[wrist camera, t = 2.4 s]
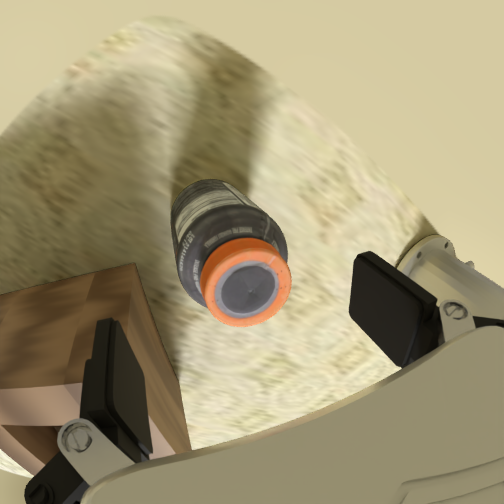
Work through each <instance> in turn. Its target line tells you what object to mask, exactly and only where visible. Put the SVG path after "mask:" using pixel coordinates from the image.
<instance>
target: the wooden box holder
mask: <svg viewBox="0 0 504 504" xmlns="http://www.w3.org/2000/svg"><path fill="white" fill-rule="evenodd" d="M111 317H112V318H113V319H114V321H116V320H118V321H119V322H120V324H121V326H122V329H123V331H124V333H125V335H126V337H127V340H128V342H129V344H130V346H131V348H132V350H133V352H134V354H135V356H136V358H137V360H138V362H139V364H140V366H141V368H142V370H143V373H144V377H145V387H146V398H147V407H148V416H149V424H150V432H151V439H152V446H153V454H149V458H150V460H152V459H156V458H161V457H165V456H169V455H174V454H179V453H183V452H188V451H192V449H191V444H190V439H189V434H188V430H187V424H186V419H185V414H184V408H183V403H182V397H181V391H180V385H179V382H178V380H177V378H176V375H175V373H174V371H173V368H172V366H171V364H170V361H169V359H168V356H167V354H166V351H165V349H164V346H163V344H162V341H161V338H160V336H159V333H158V330H157V328H156V325H155V322H154V319H153V317H152V314H151V311H150V308H149V305H148V302H147V299H146V296H145V293H144V290H143V287H142V284H141V281H140V278H139V275H138V271H137V268H136V265H135V263H133V264H128V265H124V266H120V267H115V268H111V269H107V270H102V271H98V272H94V273H89V274H85V275H81V276H77V277H72V278H68V279H64V280H60V281H56V282H51V283H47V284H43V285H39V286H35V287H31V288H27V289H23V290H19V291H14V292H10V293H6V294H2V295H0V449H1V450H2V451H3V452H5V453H6V454H7V455H8V456H9V457H11V458H12V459H13V460H14V461H15V462H17V463H18V464H19V465H20V466H22V467H23V468H24V469H26V470H27V471H28V472H30V473H31V474H32V475H34V476H35V475H36V474H37V473H38V472H39V471H40V470H41V469H42V468H43V467H44V466H45V465H46V464H47V463H48V462H49V461H50V460H51V459H52V458H53V457H54V456H55V455H56V454H57V453H58V452H59V451H60V449H59V447H58V442H57V438H58V432H57V431H56V430H55V429H54V428H53V427H52V426H58V425H64V424H65V423H67V422H69V421H70V420H73V419H79V416H80V403H81V393H82V383H83V375H84V367H85V362H86V360H87V359H91V356H92V349H93V342H94V336H95V329H96V324H97V321H98V320H101V319H106V318H111Z"/></svg>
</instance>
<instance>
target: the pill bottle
mask: <svg viewBox="0 0 504 504" xmlns="http://www.w3.org/2000/svg"><path fill="white" fill-rule="evenodd" d="M171 232H172V239H173V246H174V253H175V259H176V264H177V270H178V275H179V278H180V281H181V284H182V286H183V287H184V289H185V290H186V292H187V293H188V294H189V296H190V297H191V298H192V299H194V300H195V301H196V302H197V303H199V304H201V305H202V306H204V307H206V308H208V309H209V311H210V312H211V313H212V314H213V316H214V317H215V318H217V319H218V320H219V321H221V322H223V323H225V324H227V325H231V326H237V327H247V326H252V325H256V324H259V323H261V322H264V321H265V320H267V319H269V318H271V317H272V316H273V315H275V314H276V313H277V312H278V311H279V310H280V309H281V307H282V306H283V305H284V303H285V302H286V300H287V298H288V296H289V293H290V290H291V282H292V280H291V273H290V270H289V267H288V265H287V259H288V250H287V244H286V240H285V237H284V235H283V233H282V231H281V229H280V228H279V226H278V225H277V223H276V222H275V221H274V220H273V219H272V218H271V217H269V215H268V214H267V213H265V212H264V211H263V210H262V209H260V208H259V207H258V206H257V205H256V204H254V203H253V202H252V201H251V200H249V199H248V198H247V197H246V196H244V195H243V194H242V193H241V192H240V191H238V190H237V189H236V188H235V187H233V186H232V185H230V184H228V183H226V182H224V181H221V180H216V179H207V180H201V181H198V182H196V183H193V184H191V185H190V186H188V187H187V188H185V189H184V190H183V191H182V192H181V193H180V194H179V196H178V197H177V199H176V200H175V202H174V204H173V207H172V211H171Z"/></svg>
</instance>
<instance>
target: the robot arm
mask: <svg viewBox="0 0 504 504" xmlns="http://www.w3.org/2000/svg"><path fill="white" fill-rule="evenodd" d="M349 314H350V317H351V318H352V319H353V320H354V321H355V322H356V323H357V324H358V326H359V327H360V328H361V329H362V330H363V331H364V332H365V333H366V334H367V335H368V336H369V337H370V338H371V339H372V340H373V341H374V342H375V343H376V344H377V345H378V347H379V348H380V349H381V350H382V351H383V352H384V353H385V354H386V355H387V356H388V357H389V358H390V359H391V360H392V361H393V363H394V364H395V365H396V366H398V367H401V368H402V369H401V370H399V371H397V372H396V373H394V374H392V375H390V376H388V377H386V378H385V379H383V380H381V381H379V382H377V383H375V384H373V385H371V386H369V387H367V388H365V389H363V390H361V391H359V392H357V393H355V394H353V395H351V396H349V397H347V398H345V399H342V400H340V401H338V402H336V403H333V404H331V405H329V406H327V407H324V408H322V409H320V410H317V411H315V412H312V413H310V414H307V415H305V416H302V417H300V418H297V419H295V420H292V421H289V422H287V423H284V424H281V425H278V426H275V427H272V428H270V429H267V430H264V431H261V432H257V433H254V434H251V435H248V436H245V437H241V438H238V439H234V440H231V441H227V442H223V443H220V444H216V445H212V446H208V447H204V448H200V449H196V450H192V451H188V452H183V453H179V454H174V455H169V456H165V457H161V458H156V459H152V460H150V458H149V454H153V446H152V439H151V432H150V424H149V416H148V407H147V398H146V387H145V377H144V373H143V370H142V368H141V366H140V364H139V362H138V360H137V358H136V356H135V354H134V352H133V350H132V348H131V346H130V344H129V342H128V340H127V337H126V335H125V333H124V331H123V329H122V326H121V324H120V322H119V321H118V320H116V321H114V319H113V318H112V317H111V318H106V319H101V320H98V321H97V324H96V329H95V336H94V342H93V349H92V356H91V359H87V360H86V362H85V367H84V375H83V383H82V393H81V403H80V416H79V419H73V420H70V421H69V422H67V423H65V424H64V426H63V427H62V428H61V429H60V431H59V433H58V438H57V442H58V447H59V449H60V451H59V452H58V453H57V454H56V455H55V456H54V457H53V458H52V459H51V460H50V461H49V462H48V463H47V464H46V465H45V466H44V467H43V468H42V469H41V470H40V471H39V472H38V473H37V474H36V475H35V476H34V477H33V478H32V479H31V480H30V481H29V483H28V484H27V485H26V488H25V494H24V497H25V501H26V504H504V289H503V288H502V287H501V286H499V285H498V284H496V283H495V282H493V281H491V280H490V279H489V278H487V277H486V276H484V275H482V274H481V273H479V272H478V271H476V270H475V269H474V263H473V262H472V261H468V262H466V263H464V262H462V261H460V260H459V259H457V258H456V257H455V250H454V247H453V245H452V243H451V242H450V240H448V239H447V238H445V237H443V236H441V235H431V236H428V237H426V238H424V239H422V240H421V241H419V242H418V243H417V244H416V245H414V246H413V247H412V248H411V249H410V251H409V252H408V253H407V254H406V255H405V257H404V258H403V259H402V261H401V262H400V264H399V266H398V267H397V269H396V268H395V267H394V266H392V265H391V264H389V263H388V262H386V261H385V260H383V259H382V258H381V257H379V256H378V255H376V254H375V253H373V252H371V251H367V252H364V253H361V254H358V255H357V257H356V259H355V260H354V264H353V276H352V286H351V296H350V304H349Z"/></svg>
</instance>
